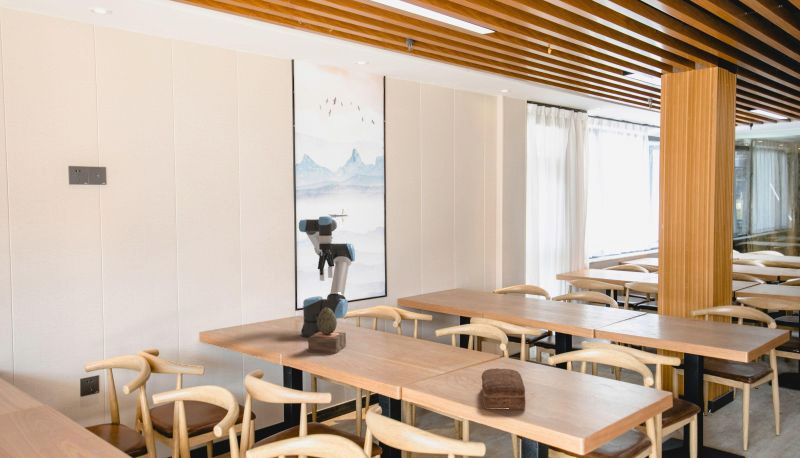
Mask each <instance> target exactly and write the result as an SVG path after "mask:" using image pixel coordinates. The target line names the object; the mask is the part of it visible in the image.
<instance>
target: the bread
mask: <svg viewBox="0 0 800 458" xmlns="http://www.w3.org/2000/svg"><path fill="white" fill-rule="evenodd" d="M481 382H482V384H481V388H482V402H483V406H484V408H485V407H486V408H509V409H524V410H525V409H526V387H525V384H524V382H523V377H522V375H521V374H520V373H519V371H517V370H515V369H512V368H499V367H498V368H488V369H485V370H484V371H483V372H482V374H481ZM486 408H485V409H486Z"/></svg>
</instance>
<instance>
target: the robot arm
mask: <svg viewBox="0 0 800 458" xmlns="http://www.w3.org/2000/svg"><path fill="white" fill-rule="evenodd" d="M337 228H338V223H337V220H335V219H333V218H332V216H330V215H329V216H328V215H327V216H325V215H324V216H323V215H322V216H319V217H318V219H309V218H307V219H306V218H305V219H300V220H299V222H298V229H299V232H301V233H306V235H307V237H308V239H309V240H310V242H311V244H312V245H313V247H314V248H313V249H314V252H315V254H316V255H317V256H318V257H319V258H318V265H317V270H319V281H320V282H321V281H325V269H324V268H325V265H326V262H327V265H328V266H327V277H328V278H329V279H332V281H331V286H330V293H329V294H327V296H326V298H323V296H312V297H308V298H305V299H304V300H303V305H302V309H303V311H302V312H303V325H302V328H301V330H300V336H301V337H304V338H309V337H310V336H312V335H314V334H316V333H318V332H320V330H319V329H318V325H317V320H318V316H319V314H320V312H321V311H322V309H324V308H326V307H327V308H330V309H331V310H332V311H333V313H334V314H335V316H336V320H338V319H344V318H345V317H346V315H347V313H348V308H349V307H348V306H349V304H348V303H349V302H348V300H347V298H346V296H345V292H346V284H347V278H348V272H349V267H350V266H351V265H352V263H353V262H355V261H356V252H355V247H354V244H353V243H347V242H346V243H332V242H333V232H334V231H336V229H337ZM333 268H334V269H333Z"/></svg>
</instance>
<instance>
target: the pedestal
mask: <svg viewBox="0 0 800 458" xmlns="http://www.w3.org/2000/svg"><path fill="white" fill-rule="evenodd" d="M346 335H347V334H346V332H338V331H337V332H336V331H334V332H333V333H331V334H328V335H326V334H323V333H321V332H318V333H316V334H314V335H312V336H310V337H307V338H308V339H307V346H308V353H313V354H314V353H316V354H317V353H319V354H338V353H339V352H341V351H342V350H343V349H345V348H346V347H347V345H346V344H347V340H346V339H347V337H346Z"/></svg>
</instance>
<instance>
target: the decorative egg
mask: <svg viewBox="0 0 800 458" xmlns="http://www.w3.org/2000/svg"><path fill="white" fill-rule="evenodd" d="M337 320H338V319H336V316H335V314H334V313H333V311H332V310H331V309H330V308H327V307H326V308H324V309H322V311H321V312H320V314H319V316H318V320H317V325H318V329H319V330H320V332H321V333H323V334H326V335H328V334H331V333H333V332H335V330H336V329H337V324H338V323H337Z"/></svg>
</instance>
